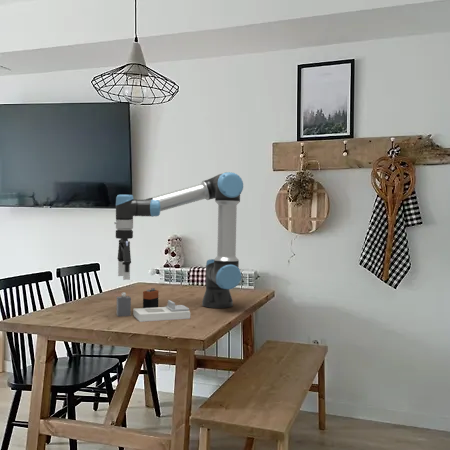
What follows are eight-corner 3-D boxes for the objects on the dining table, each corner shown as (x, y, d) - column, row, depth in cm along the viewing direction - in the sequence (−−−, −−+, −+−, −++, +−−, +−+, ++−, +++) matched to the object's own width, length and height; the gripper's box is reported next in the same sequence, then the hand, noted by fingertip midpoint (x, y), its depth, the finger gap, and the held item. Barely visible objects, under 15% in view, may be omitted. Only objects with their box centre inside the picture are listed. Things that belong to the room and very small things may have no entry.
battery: (158, 309, 244) (159, 288, 243) (150, 311, 238) (150, 290, 237) (151, 308, 246) (151, 287, 246) (142, 310, 240) (142, 289, 240)
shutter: (182, 306, 235) (183, 299, 235) (189, 310, 225) (189, 302, 225) (165, 307, 232) (165, 299, 232) (171, 311, 223) (171, 303, 222)
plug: (128, 313, 232) (129, 291, 232) (130, 315, 228) (130, 293, 228) (116, 314, 230) (116, 292, 230) (118, 316, 226) (118, 293, 226)
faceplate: (181, 312, 237) (181, 306, 237) (190, 318, 224) (190, 311, 223) (133, 315, 229) (133, 308, 229) (139, 321, 216) (139, 314, 216)
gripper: (111, 228, 239) (111, 274, 239) (120, 230, 216) (119, 281, 216) (127, 228, 241) (127, 274, 242) (138, 230, 218) (137, 280, 219)
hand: (123, 277), depth 229 cm, fingers open, 13 cm apart
